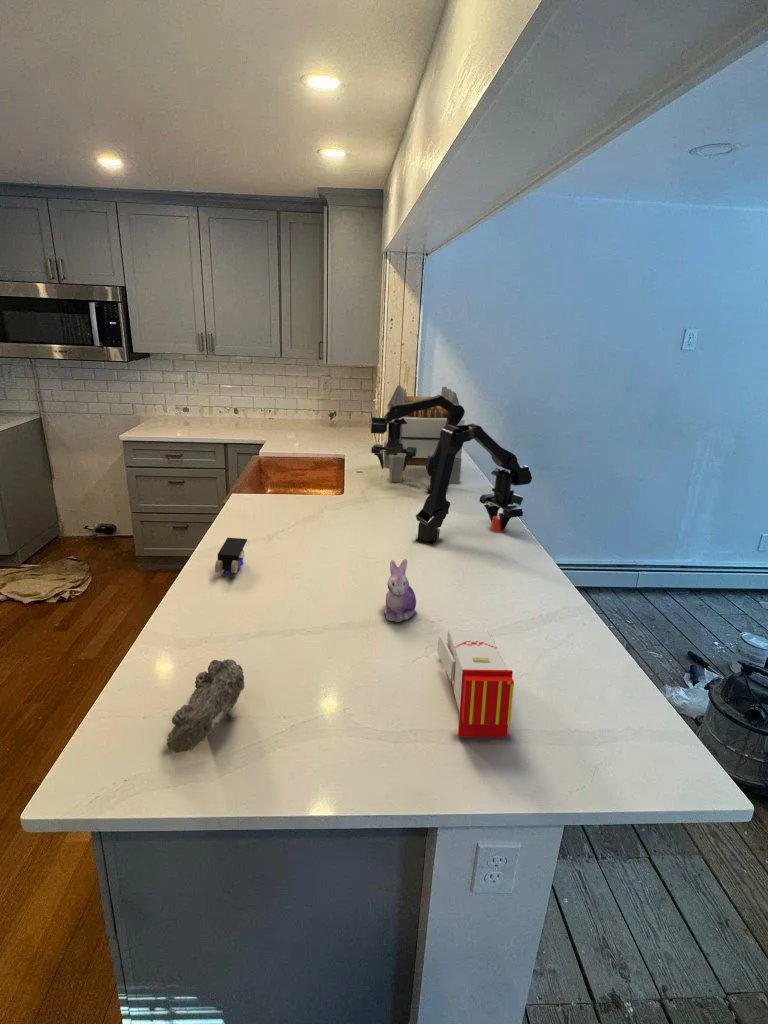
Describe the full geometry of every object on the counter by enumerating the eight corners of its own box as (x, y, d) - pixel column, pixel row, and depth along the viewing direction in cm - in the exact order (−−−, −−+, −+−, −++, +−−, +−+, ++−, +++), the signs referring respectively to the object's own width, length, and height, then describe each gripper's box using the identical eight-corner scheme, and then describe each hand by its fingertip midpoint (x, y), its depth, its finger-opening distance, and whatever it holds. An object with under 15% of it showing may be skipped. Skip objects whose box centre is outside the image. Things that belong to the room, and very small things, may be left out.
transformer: (382, 463, 289) (386, 382, 275) (445, 464, 293) (451, 384, 279) (390, 482, 257) (394, 392, 243) (460, 483, 261) (468, 394, 247)
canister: (495, 532, 205) (496, 520, 203) (488, 528, 209) (490, 515, 208) (507, 531, 206) (508, 519, 205) (500, 527, 211) (502, 514, 209)
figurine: (392, 627, 141) (395, 572, 136) (374, 608, 149) (376, 556, 144) (425, 619, 145) (429, 566, 140) (405, 601, 154) (408, 550, 149)
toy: (488, 613, 130) (523, 677, 101) (484, 667, 133) (517, 744, 104) (435, 612, 130) (455, 676, 101) (432, 666, 133) (451, 743, 103)
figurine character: (238, 584, 162) (249, 557, 175) (236, 562, 158) (247, 536, 172) (215, 584, 161) (227, 556, 175) (212, 561, 158) (225, 535, 171)
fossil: (192, 660, 117) (244, 628, 112) (224, 691, 120) (276, 661, 115) (142, 746, 98) (202, 712, 93) (182, 779, 101) (242, 748, 96)
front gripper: (538, 492, 198) (532, 533, 203) (505, 477, 213) (500, 516, 219) (512, 495, 193) (507, 537, 198) (480, 480, 209) (476, 519, 214)
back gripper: (369, 436, 232) (368, 472, 237) (414, 439, 229) (412, 476, 234) (374, 430, 242) (373, 466, 247) (417, 434, 239) (415, 470, 244)
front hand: (498, 527), depth 207 cm, fingers open, 5 cm apart
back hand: (393, 469), depth 243 cm, fingers open, 9 cm apart
